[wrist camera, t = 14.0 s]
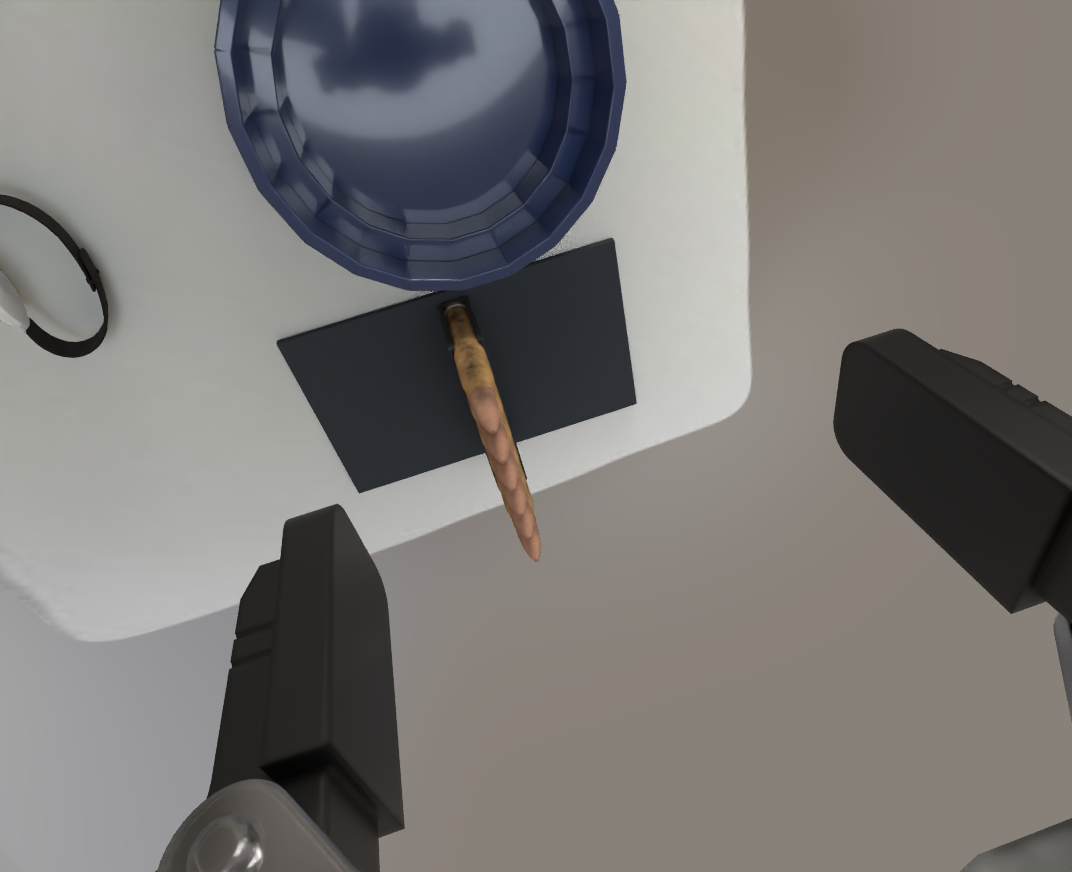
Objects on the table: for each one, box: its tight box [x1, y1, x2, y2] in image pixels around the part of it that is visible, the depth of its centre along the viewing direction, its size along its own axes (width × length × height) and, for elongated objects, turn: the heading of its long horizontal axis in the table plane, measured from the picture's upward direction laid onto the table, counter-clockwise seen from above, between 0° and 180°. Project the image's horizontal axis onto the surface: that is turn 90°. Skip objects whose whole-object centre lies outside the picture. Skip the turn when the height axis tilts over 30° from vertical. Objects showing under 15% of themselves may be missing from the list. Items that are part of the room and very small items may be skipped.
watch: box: [0, 195, 108, 358], centre depth 29 cm, size 8×5×4 cm, turn 11°
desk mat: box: [277, 238, 637, 493], centre depth 39 cm, size 20×12×1 cm, turn 103°
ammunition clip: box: [437, 296, 541, 562], centre depth 34 cm, size 11×2×12 cm, turn 13°
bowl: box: [214, 0, 626, 291], centre depth 28 cm, size 16×16×5 cm
